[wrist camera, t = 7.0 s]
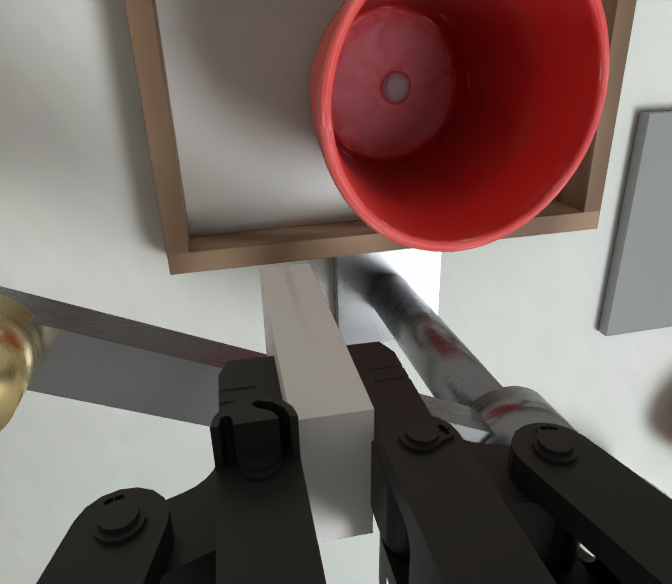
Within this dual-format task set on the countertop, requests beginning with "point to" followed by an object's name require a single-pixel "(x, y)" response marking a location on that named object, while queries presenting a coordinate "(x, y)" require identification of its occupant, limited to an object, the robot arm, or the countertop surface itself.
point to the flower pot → (457, 111)
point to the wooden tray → (354, 236)
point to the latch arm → (177, 370)
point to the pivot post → (407, 318)
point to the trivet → (643, 235)
